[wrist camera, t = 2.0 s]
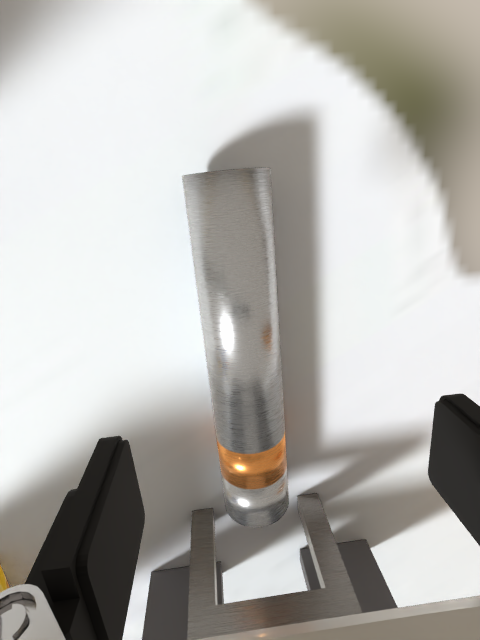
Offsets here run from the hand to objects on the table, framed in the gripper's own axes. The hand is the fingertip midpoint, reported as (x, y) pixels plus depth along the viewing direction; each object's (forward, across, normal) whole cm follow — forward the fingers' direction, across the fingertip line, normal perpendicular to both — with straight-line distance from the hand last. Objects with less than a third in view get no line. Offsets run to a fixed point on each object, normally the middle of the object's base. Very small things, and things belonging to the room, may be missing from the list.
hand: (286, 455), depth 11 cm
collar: (+16, 0, +19) cm, 25 cm away
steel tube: (+16, 0, +3) cm, 16 cm away
